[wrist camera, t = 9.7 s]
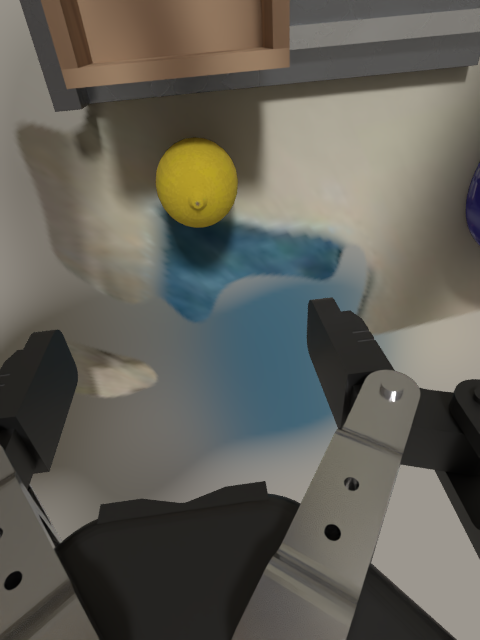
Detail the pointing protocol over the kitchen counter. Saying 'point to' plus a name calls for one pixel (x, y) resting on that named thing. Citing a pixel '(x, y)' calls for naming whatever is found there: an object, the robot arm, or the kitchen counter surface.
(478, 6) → the track
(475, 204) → the dog bowl
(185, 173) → the lemon
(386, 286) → the kitchen counter surface
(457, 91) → the kitchen counter surface
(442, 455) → the robot arm
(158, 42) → the wooden tray box
